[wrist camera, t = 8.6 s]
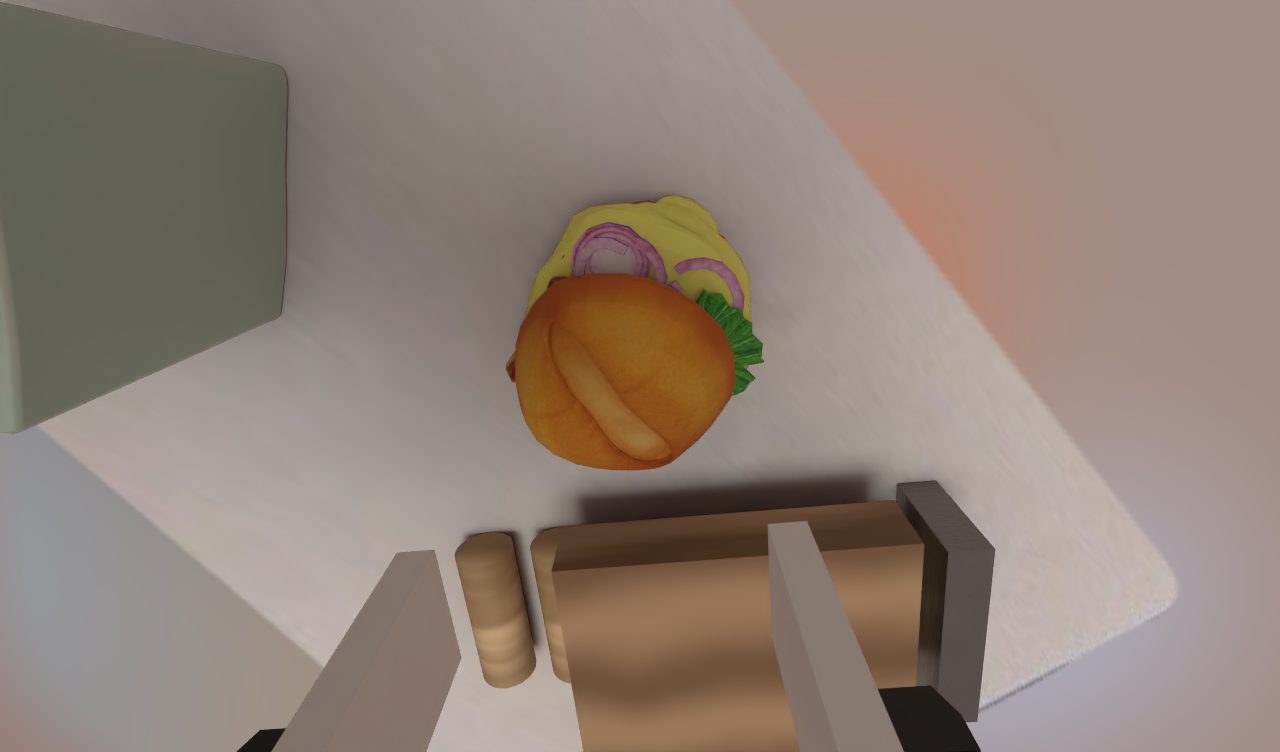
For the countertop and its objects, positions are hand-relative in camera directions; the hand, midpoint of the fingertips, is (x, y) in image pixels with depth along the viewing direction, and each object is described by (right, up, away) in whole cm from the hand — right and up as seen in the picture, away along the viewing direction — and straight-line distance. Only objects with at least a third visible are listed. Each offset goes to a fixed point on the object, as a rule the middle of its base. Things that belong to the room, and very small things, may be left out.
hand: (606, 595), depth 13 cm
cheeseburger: (+1, +7, +18) cm, 19 cm away
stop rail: (+16, -6, +22) cm, 28 cm away
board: (+5, -8, +20) cm, 22 cm away
